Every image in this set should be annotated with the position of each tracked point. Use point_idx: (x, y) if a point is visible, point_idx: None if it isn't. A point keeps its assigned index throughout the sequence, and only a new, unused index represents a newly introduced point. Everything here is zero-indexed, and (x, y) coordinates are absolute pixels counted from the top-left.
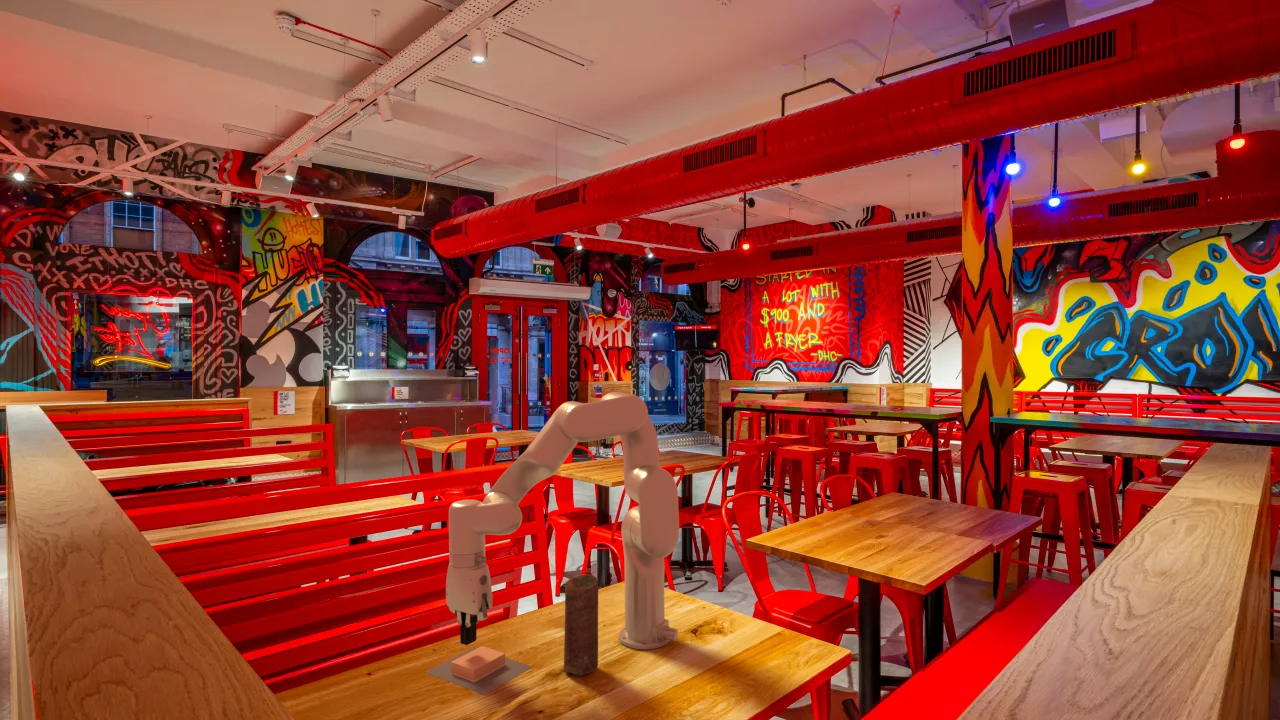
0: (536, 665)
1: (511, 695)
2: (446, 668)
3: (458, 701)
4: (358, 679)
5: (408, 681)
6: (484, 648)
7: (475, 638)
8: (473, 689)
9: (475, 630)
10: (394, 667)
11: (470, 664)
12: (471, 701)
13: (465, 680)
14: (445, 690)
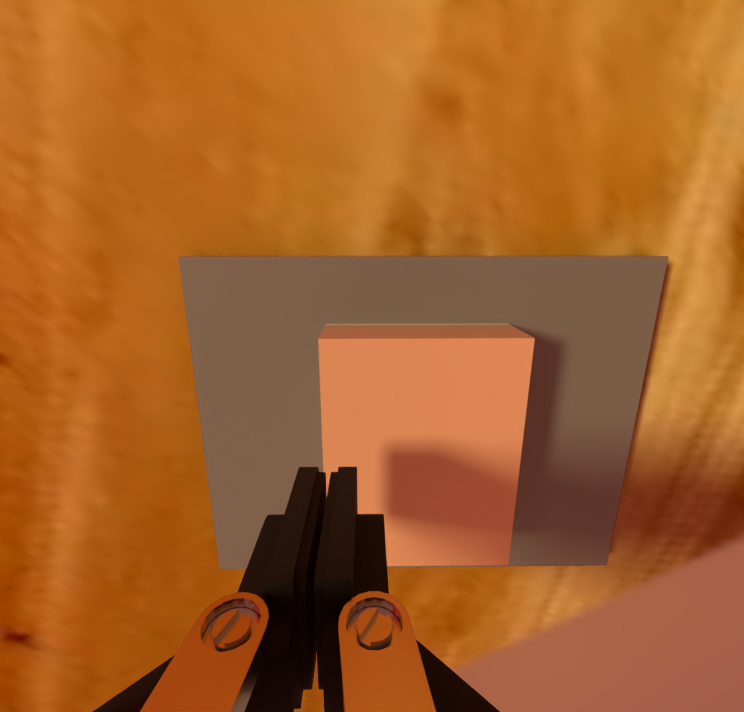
0: (630, 188)
1: (674, 475)
2: (271, 501)
3: (502, 599)
4: (34, 677)
5: (205, 602)
6: (361, 358)
7: (356, 481)
8: (529, 561)
9: (384, 561)
10: (39, 564)
11: (443, 535)
12: (548, 578)
13: None
14: (394, 576)
